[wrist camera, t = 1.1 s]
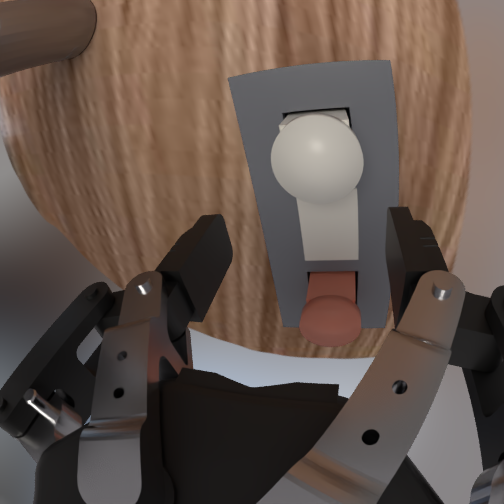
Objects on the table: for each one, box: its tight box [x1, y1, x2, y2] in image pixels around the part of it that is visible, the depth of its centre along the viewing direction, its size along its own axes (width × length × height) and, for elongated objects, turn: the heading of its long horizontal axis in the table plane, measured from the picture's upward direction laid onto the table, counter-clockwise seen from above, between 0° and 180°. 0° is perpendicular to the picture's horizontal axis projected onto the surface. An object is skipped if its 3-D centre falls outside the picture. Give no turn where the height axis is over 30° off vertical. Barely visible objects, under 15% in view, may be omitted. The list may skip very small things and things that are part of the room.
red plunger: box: [299, 271, 361, 347], centre depth 28 cm, size 6×6×8 cm
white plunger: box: [271, 107, 364, 204], centre depth 19 cm, size 6×6×8 cm
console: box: [228, 60, 399, 328], centre depth 27 cm, size 27×12×7 cm, turn 12°
